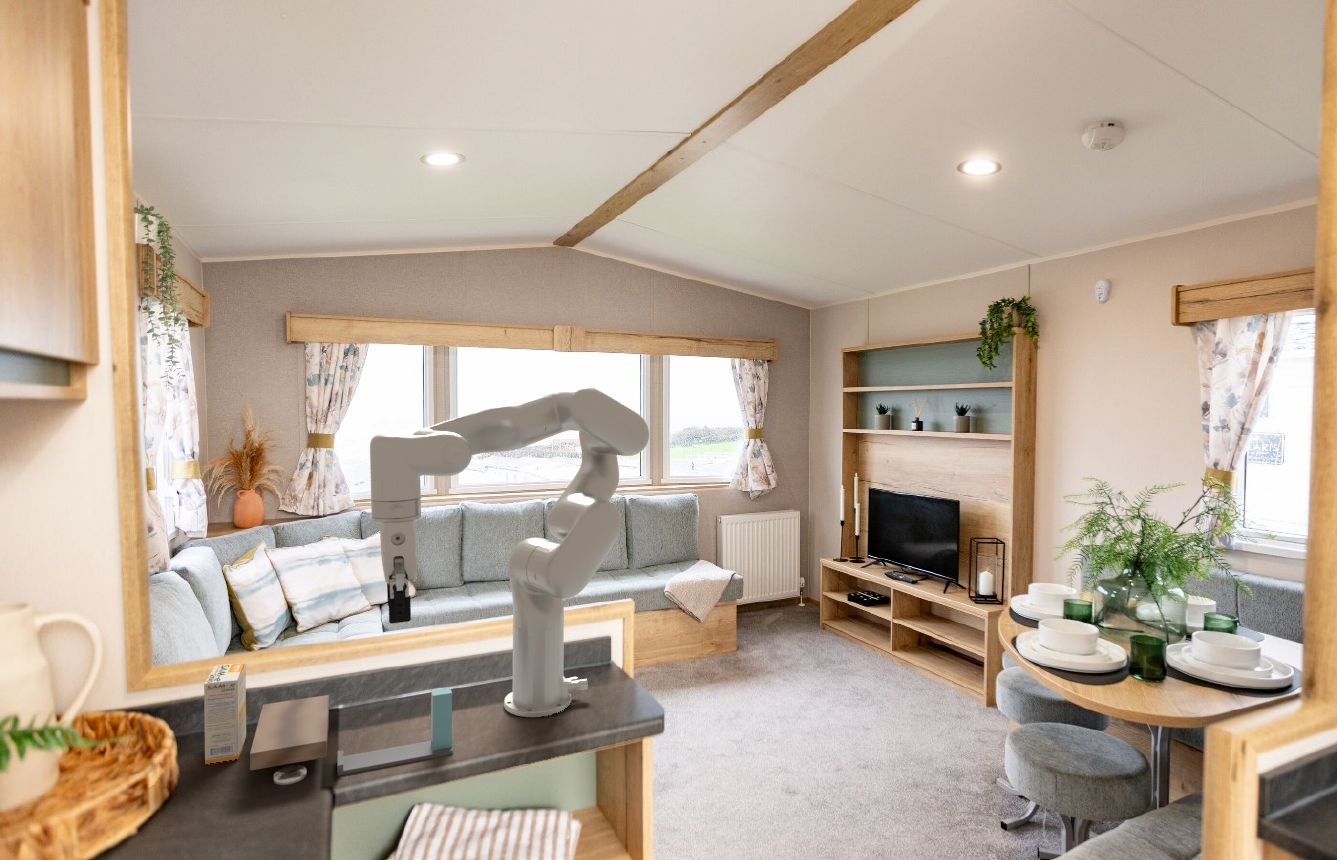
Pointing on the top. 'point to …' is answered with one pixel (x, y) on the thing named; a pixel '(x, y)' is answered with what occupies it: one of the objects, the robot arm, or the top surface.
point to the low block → (291, 732)
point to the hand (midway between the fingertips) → (398, 613)
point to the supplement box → (225, 712)
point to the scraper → (411, 752)
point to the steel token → (290, 775)
